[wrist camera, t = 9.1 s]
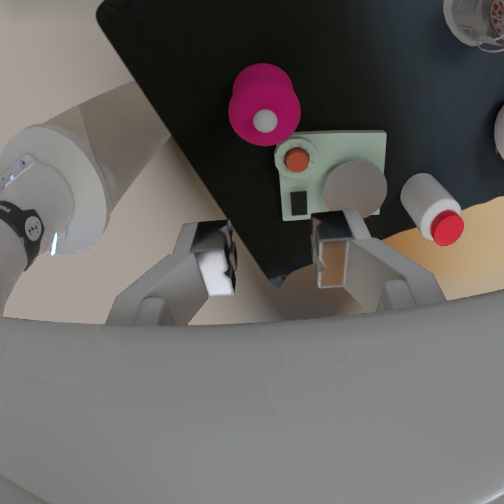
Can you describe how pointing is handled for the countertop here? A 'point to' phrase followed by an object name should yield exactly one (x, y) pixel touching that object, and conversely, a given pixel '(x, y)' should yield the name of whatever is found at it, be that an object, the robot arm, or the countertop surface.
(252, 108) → the pepper mill
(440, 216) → the pill bottle
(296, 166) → the button
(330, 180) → the scale top
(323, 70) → the countertop surface
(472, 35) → the french press
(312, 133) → the scale
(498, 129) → the white round vase
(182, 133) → the countertop surface
